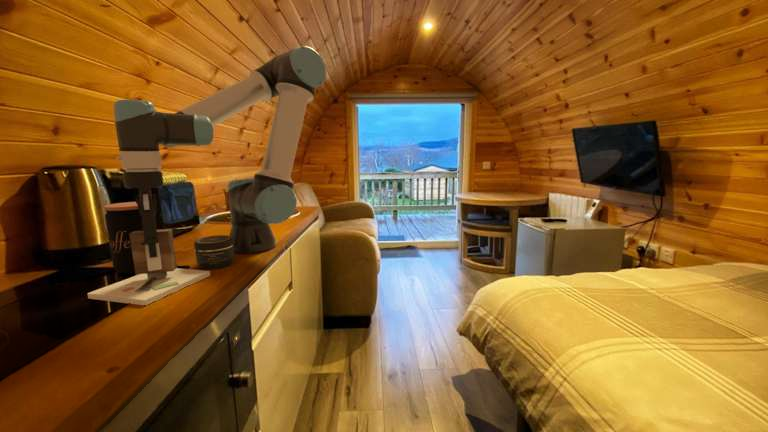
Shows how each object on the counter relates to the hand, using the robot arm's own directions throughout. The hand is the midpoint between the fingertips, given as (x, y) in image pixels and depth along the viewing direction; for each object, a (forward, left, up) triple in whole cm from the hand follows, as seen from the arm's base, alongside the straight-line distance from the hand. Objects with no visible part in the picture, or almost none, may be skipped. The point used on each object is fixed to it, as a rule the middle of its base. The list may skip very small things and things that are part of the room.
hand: (155, 266), depth 81 cm
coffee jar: (-8, -16, -4) cm, 18 cm away
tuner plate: (+2, +1, -4) cm, 5 cm away
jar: (-15, +4, -4) cm, 16 cm away
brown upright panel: (+3, +2, -3) cm, 4 cm away
